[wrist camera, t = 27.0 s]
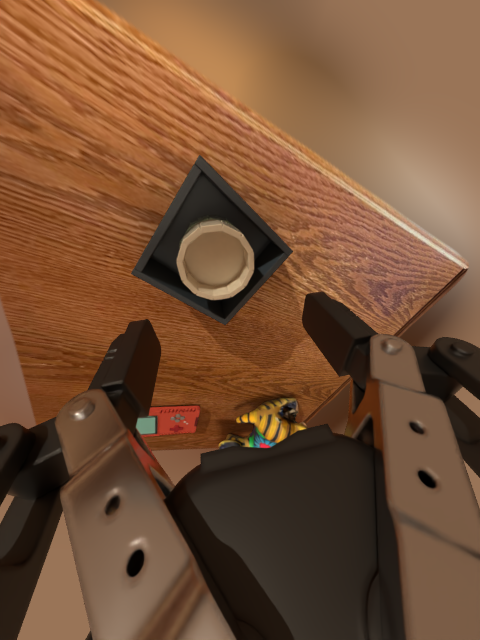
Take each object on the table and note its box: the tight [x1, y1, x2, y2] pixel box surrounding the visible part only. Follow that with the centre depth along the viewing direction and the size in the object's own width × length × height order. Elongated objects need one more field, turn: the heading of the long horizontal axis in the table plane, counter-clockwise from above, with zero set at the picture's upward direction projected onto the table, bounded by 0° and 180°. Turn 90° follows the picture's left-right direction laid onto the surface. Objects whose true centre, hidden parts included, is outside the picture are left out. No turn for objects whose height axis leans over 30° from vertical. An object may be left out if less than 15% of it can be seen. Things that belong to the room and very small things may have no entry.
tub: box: [131, 155, 293, 325], centre depth 19 cm, size 10×10×5 cm
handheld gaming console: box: [136, 406, 200, 437], centre depth 37 cm, size 9×1×15 cm
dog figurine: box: [219, 398, 308, 449], centre depth 42 cm, size 20×12×18 cm
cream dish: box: [176, 220, 254, 300], centre depth 17 cm, size 6×6×2 cm
